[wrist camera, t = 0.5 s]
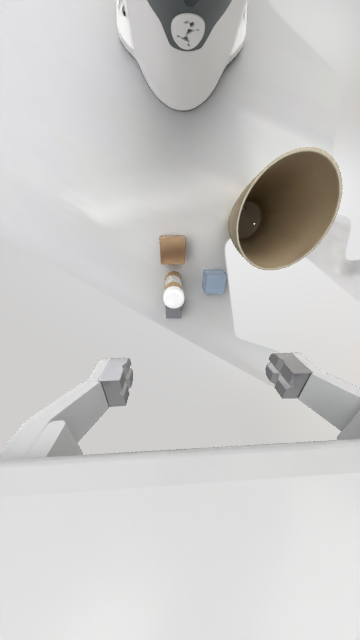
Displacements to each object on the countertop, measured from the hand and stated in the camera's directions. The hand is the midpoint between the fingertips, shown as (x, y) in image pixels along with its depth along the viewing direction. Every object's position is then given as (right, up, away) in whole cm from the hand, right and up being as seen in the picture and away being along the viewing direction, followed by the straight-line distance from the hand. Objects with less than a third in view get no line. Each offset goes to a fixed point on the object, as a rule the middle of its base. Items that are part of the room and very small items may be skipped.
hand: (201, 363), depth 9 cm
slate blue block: (+8, +14, +35) cm, 38 cm away
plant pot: (+14, +26, +27) cm, 40 cm away
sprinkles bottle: (-3, +14, +34) cm, 37 cm away
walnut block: (-3, +21, +30) cm, 36 cm away
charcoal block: (-3, +7, +38) cm, 39 cm away
